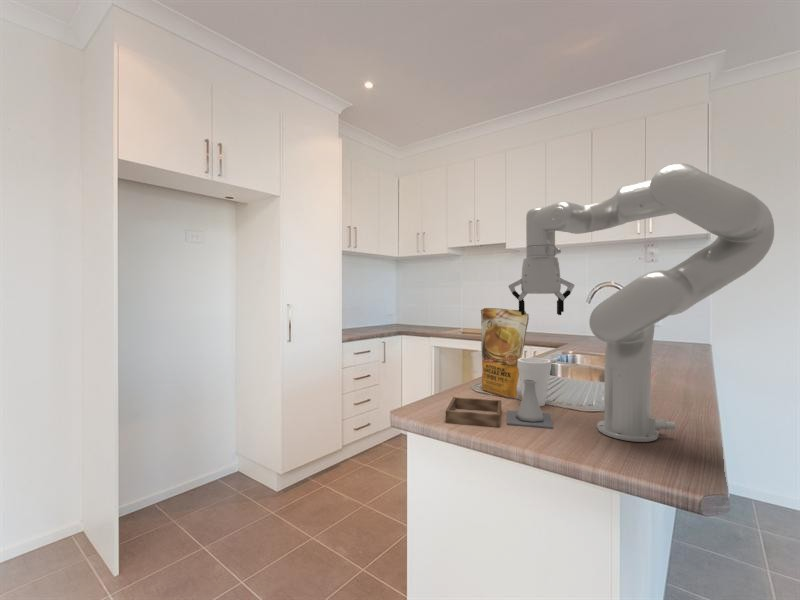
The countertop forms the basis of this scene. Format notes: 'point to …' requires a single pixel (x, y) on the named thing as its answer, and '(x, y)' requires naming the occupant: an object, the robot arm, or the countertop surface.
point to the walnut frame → (474, 417)
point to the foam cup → (535, 375)
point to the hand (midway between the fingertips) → (540, 314)
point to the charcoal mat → (542, 424)
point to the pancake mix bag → (502, 349)
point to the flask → (529, 404)
